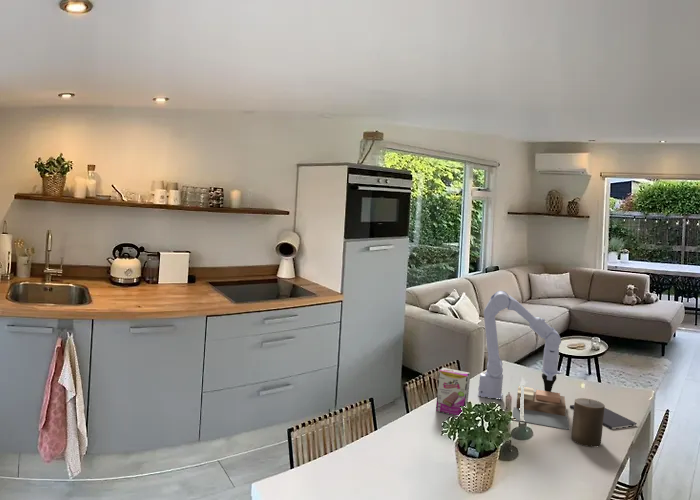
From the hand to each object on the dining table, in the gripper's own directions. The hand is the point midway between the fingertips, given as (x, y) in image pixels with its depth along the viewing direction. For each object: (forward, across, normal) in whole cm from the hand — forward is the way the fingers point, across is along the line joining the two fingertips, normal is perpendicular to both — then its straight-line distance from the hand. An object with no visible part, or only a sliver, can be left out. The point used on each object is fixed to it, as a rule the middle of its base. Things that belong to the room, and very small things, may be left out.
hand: (547, 392), depth 222 cm
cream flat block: (+1, -6, +8) cm, 10 cm away
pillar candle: (+5, -32, -12) cm, 34 cm away
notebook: (+6, -5, -20) cm, 22 cm away
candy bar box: (+5, -28, +35) cm, 45 cm away
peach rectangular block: (+1, -6, 0) cm, 6 cm away
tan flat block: (+5, -6, +2) cm, 8 cm away
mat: (+5, -18, +2) cm, 19 cm away
